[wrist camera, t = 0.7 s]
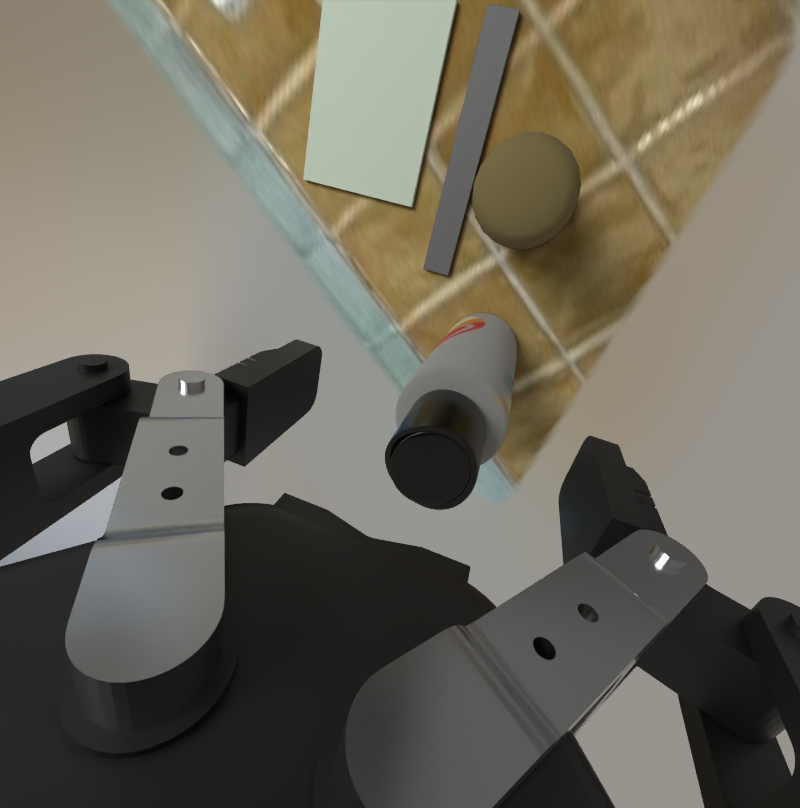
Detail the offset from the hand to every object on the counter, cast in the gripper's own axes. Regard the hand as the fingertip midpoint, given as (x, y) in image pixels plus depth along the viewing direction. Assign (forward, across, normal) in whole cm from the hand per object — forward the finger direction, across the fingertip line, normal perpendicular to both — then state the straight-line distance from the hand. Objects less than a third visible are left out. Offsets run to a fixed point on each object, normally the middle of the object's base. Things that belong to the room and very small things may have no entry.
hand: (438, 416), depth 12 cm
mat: (+23, +13, -10) cm, 28 cm away
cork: (+23, 0, -6) cm, 24 cm away
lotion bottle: (+23, 0, +4) cm, 23 cm away
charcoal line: (+23, +5, -8) cm, 25 cm away
